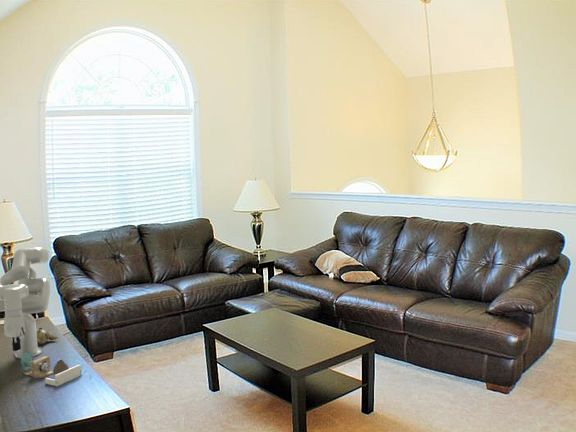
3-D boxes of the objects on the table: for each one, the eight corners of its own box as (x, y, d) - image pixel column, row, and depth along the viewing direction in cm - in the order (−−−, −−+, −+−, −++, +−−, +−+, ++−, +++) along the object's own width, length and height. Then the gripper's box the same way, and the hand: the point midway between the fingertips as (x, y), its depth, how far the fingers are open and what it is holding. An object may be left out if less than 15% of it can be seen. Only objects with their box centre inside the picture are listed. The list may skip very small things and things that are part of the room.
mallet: (21, 370, 274) (20, 354, 274) (30, 366, 279) (29, 351, 278) (41, 374, 268) (40, 358, 267) (50, 370, 272) (49, 355, 271)
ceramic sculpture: (40, 323, 328) (58, 327, 321) (41, 337, 329) (59, 342, 322) (24, 328, 318) (42, 333, 311) (25, 343, 320) (43, 348, 313)
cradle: (45, 383, 260) (44, 373, 260) (70, 372, 273) (69, 362, 272) (57, 386, 257) (56, 375, 256) (81, 375, 269) (80, 364, 269)
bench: (22, 374, 272) (20, 359, 272) (36, 368, 279) (35, 354, 279) (40, 378, 266) (39, 363, 265) (55, 372, 273) (53, 357, 272)
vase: (64, 382, 261) (62, 363, 260) (50, 381, 263) (49, 363, 262) (72, 376, 268) (71, 358, 267) (59, 375, 270) (58, 357, 269)
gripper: (-4, 313, 276) (-1, 350, 278) (17, 316, 269) (20, 354, 271) (10, 310, 283) (13, 346, 284) (30, 312, 276) (33, 349, 277)
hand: (16, 350), depth 277 cm, fingers closed
